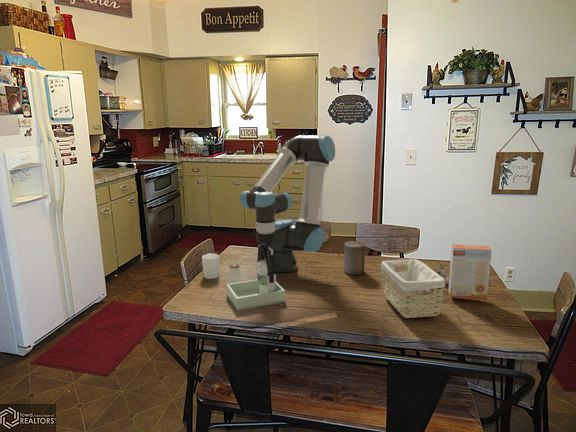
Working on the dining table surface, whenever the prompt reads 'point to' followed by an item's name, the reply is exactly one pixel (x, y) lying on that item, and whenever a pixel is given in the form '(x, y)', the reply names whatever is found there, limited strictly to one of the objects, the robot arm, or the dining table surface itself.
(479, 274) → the cracker box
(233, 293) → the tote
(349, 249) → the pillar candle
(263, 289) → the syrup box
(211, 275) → the white cup
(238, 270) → the spice jar
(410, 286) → the storage basket
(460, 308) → the dining table surface
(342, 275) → the dining table surface
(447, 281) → the house of cards
